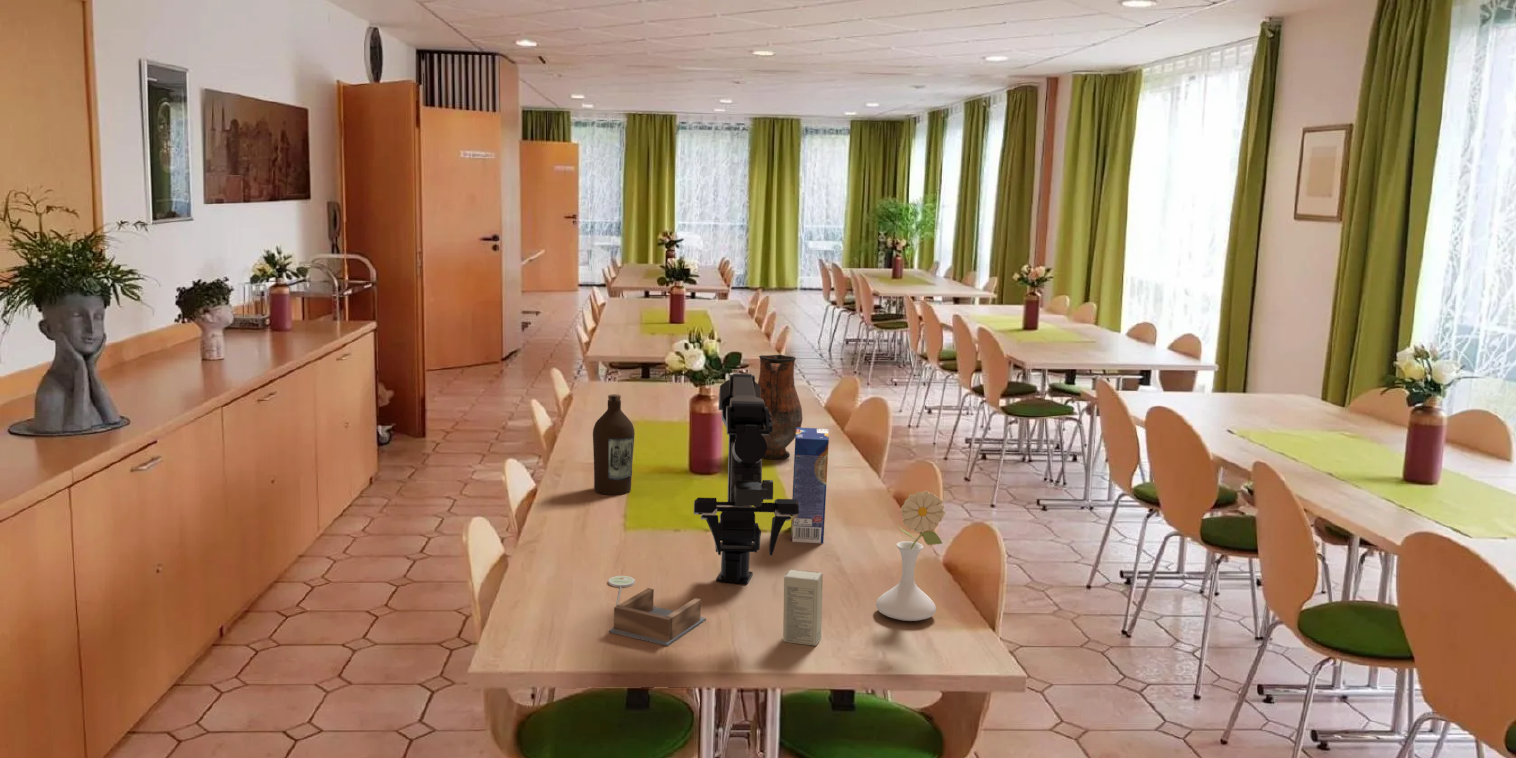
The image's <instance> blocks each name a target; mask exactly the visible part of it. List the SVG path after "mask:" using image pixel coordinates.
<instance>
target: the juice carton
mask: <svg viewBox="0 0 1516 758" xmlns="http://www.w3.org/2000/svg"><path fill="white" fill-rule="evenodd" d="M829 443H830V439H829V428H816V427H815V428H814V427H801V428H800V427H796V436H795V438H794V458H793V459H794V460H793V480H792V484H793V485H792V496H791V497H792V498H791V499H796V500H797V502H798V504H799V514H798V515H796V516H791V520H790V521H791V522H790V539H789V540H790V542H792V543H808V544H809V543H810V544H824V540H825V539H824V538H825V537H824V535H825V517H826V516H825V515H826V498H827V482H828V481H827V479H828V478H827V477H828V462H829Z"/></svg>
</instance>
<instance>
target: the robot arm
mask: <svg viewBox="0 0 1516 758" xmlns="http://www.w3.org/2000/svg"><path fill="white" fill-rule="evenodd" d="M728 377H729V378H728V380H726V381H725V382H723V383H721V385H720V386H719V390H718V392H719V393H718V411H721V421H722V422H723V424H724V426H725V429H726V435H728V455H727V456H728V457H727V458H728V461H727V462H728V463H727V501H717V497H697V498H696V499H694V501H693V515H698V516H699V515H701V516H700V520H706V523H707V525H708V527H709V530H710V532H711V535H712V538H713V540H714V547H715V552H716V553H717V555H718V556H721V558H720V559H721V560H720V561H721V562H720V572H719V573H718V575H717V577H716V578H715V581H716V582H723V583H732V584H742V585H747V584H748V583H749V582H750V580H751V579H752V577H753V575H754V572H753V571H750V553H758V551H760V550H761V549H760V547H761V539H762V538H761V536H762V529H760V526H759V523H758V522H756V513H773V514H774V517H772V519H771V527H770V528H771V529H770V537H769V546H768V549H769V550H768V553H769V557H772V556H773V554H774V551H775V547H776V543H777V542H778V541H777V540H778V538H779V535H780V532H781V530H782V529H783V526H784V524H785V523H786V522H788V521H791V518H792V516H796V515H798V514H799V504H798V502H797V500H796V499H792V498H776V499H775V500H774V502H764V500H766V501H767V500H768V501H769V500H770V501H771V500H773V499H774V480H773V479H763V459H764V458H763V457H764V455H765V453H766V451H767V444H766V440H765V439H764V437H763V436H762V435H769V434H770V432H772V418H771V413H770V412H769V409H768V407H765V403H764V400H763V399H761V387H760V386H759V385H758V383H757V382H756V378H755V375H753V374H752V373H734V372H733V374H729V376H728ZM763 426H765V430H764V427H763ZM718 512H719V513H720V514H719V515H718V514H717V513H718Z"/></svg>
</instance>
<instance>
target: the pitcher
mask: <svg viewBox="0 0 1516 758" xmlns="http://www.w3.org/2000/svg"><path fill="white" fill-rule="evenodd" d="M758 357H759V360H760V361H759V375H758V376H759V377H758V381H757V382H758V383H757V384H758V385H759V386H760V387H761V399H763V400H764V403H765V407H768V409H769V412H770V413H771V418H772V432H770V434H769V435H762V436H763V437H764V439H765V440H766V444H767V451H766V453H765V455H764V457H763V458H762V459H764V458H765V459H766V460H773V461H774V460H777V461H778V460H785V459H787V458H789V457H790V452H789V451H787V449H786V448H787V447H788V446H789V445H790V444H791V443H792V442H793V441H795V436H796V427H800V428H802V427H801V426H802V423H803V408H802V405H801V402H800V399H799V395H798V392H797V389H796V386H795V375H794V372H795V364H796V363H795V361H796V359H797V358H796V357H795V356H792V355H791V356H790V355H783V354H772V355H771V354H769V355H768V354H767V355H764V354H763V355H762V354H761V355H759V356H758ZM763 427H764V430H765V426H763Z"/></svg>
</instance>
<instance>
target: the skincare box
mask: <svg viewBox="0 0 1516 758" xmlns="http://www.w3.org/2000/svg"><path fill="white" fill-rule="evenodd" d="M823 576H824V574H823V572H818V571H811V570H810V571H808V570H798V569H789V570H788V571H787V573H786V574H784V578H783V580H784V581H783V582H784V583H783V622H782V623H783V624H782V625H783V628H782V631H783V633H782V642H783V643H790V644H799V645H807V646H817V645H818V643H819V642H820V640H822V639H821V638H822V629H823V628H822V627H823V626H822V621H823V620H822V619H823V588H824V587H823V585H824V584H823V582H824V580H823Z"/></svg>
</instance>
